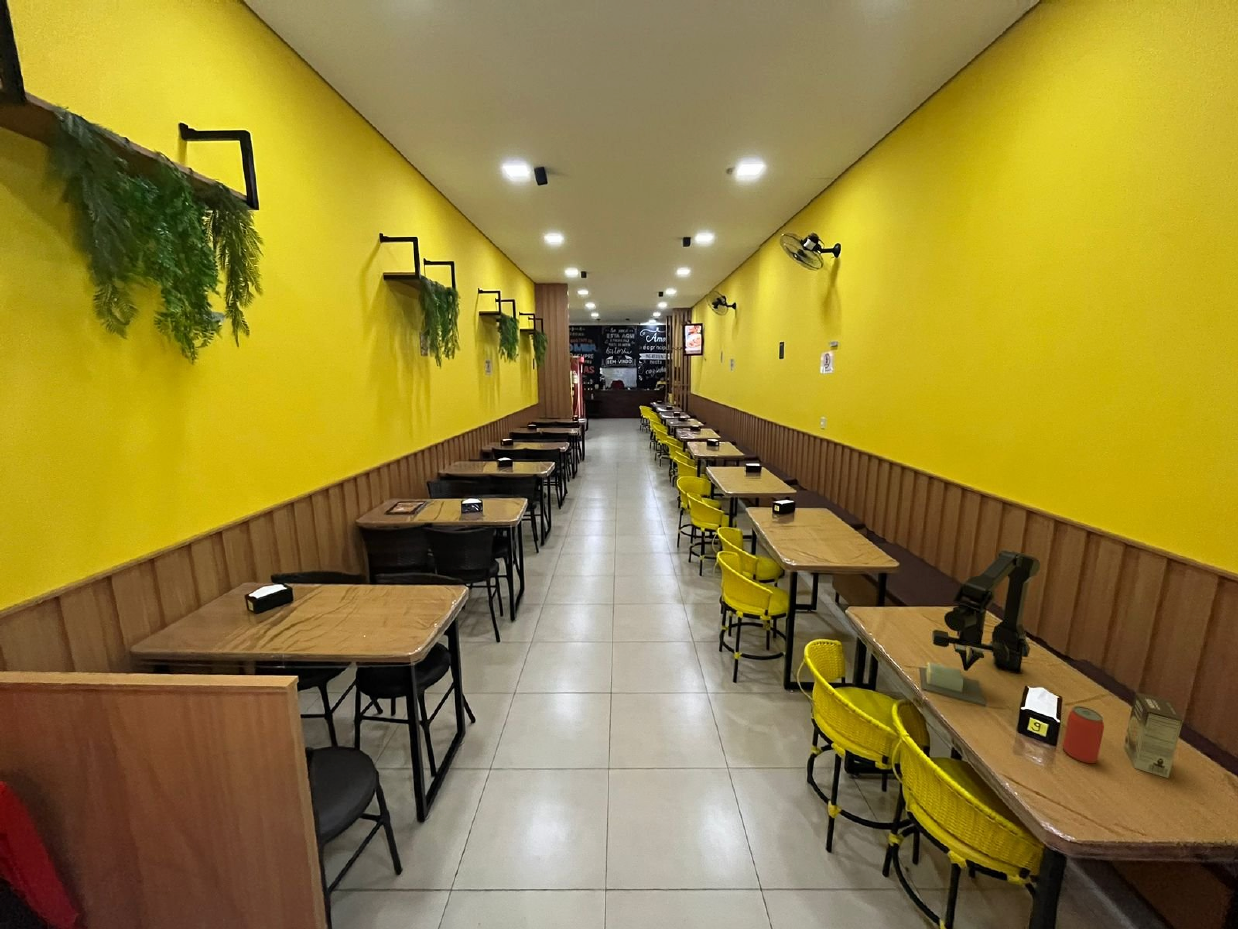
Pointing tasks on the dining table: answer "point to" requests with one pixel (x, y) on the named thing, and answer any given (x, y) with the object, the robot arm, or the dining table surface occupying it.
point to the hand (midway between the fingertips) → (965, 670)
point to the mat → (969, 691)
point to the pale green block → (944, 677)
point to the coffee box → (1152, 734)
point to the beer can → (1083, 734)
